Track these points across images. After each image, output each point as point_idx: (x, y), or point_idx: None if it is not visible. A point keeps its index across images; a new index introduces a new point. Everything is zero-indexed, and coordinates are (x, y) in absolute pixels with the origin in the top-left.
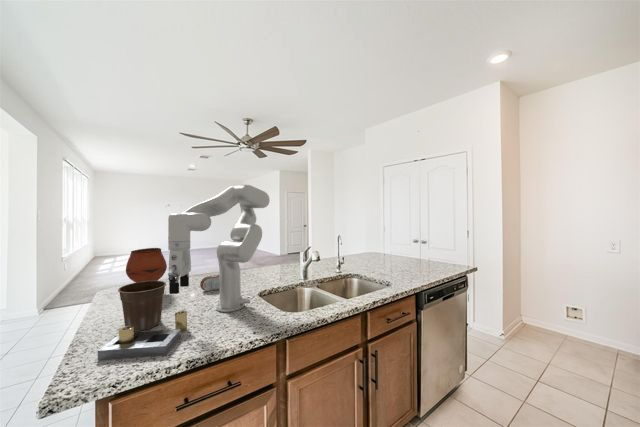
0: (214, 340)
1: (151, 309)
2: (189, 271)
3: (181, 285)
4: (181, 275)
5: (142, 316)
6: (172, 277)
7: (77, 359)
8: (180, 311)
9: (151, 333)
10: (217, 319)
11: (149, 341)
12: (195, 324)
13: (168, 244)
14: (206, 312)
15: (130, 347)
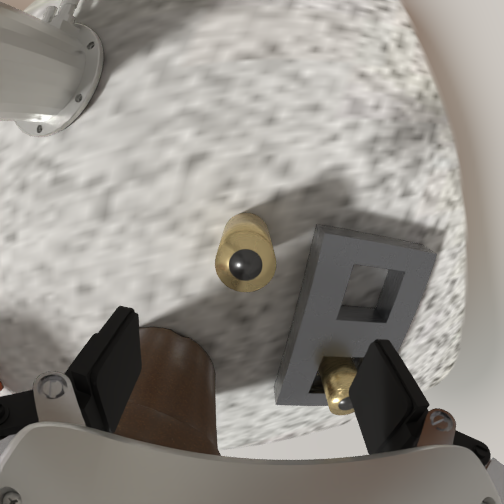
0: (381, 98)
1: (192, 392)
2: (131, 455)
3: (139, 365)
4: (470, 450)
5: (211, 396)
6: (494, 460)
7: (335, 418)
8: (233, 270)
9: (321, 329)
10: (168, 96)
11: (359, 316)
12: (197, 186)
13: None
14: (76, 168)
15: (395, 347)
